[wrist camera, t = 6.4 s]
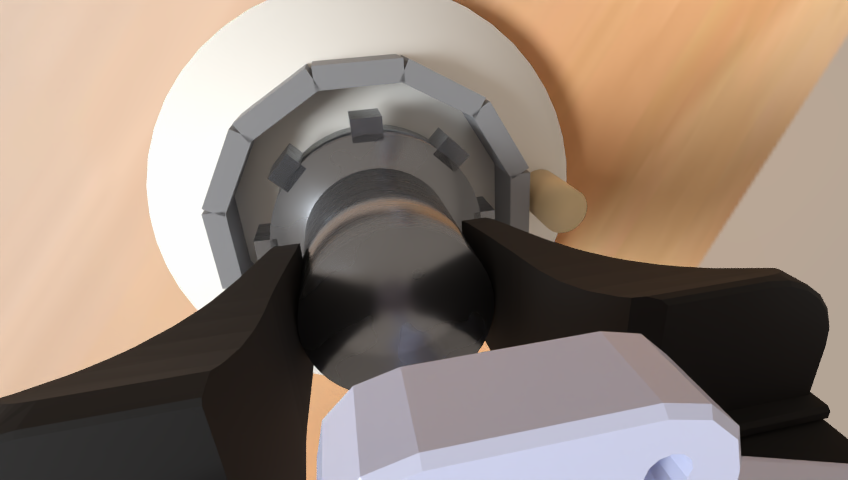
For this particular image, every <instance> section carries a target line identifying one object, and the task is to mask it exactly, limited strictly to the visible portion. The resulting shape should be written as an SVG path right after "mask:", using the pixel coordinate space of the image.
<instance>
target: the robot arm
mask: <svg viewBox="0 0 848 480" xmlns="http://www.w3.org/2000/svg"><path fill="white" fill-rule="evenodd" d="M462 233H463V235H464V237H465V238H466V240H467V241H468V243H469V244H470V246H471V248H472V249H473V251H474V252H475V254H476V255H477V257H478V259H479V260H480V262H481V263H482V265H483V267H484V268H485V270H486V272H487V274H488V276H489V279H490V281H491V284H492V289H493V293H494V315H493V320H492V324H491V327H490V330H489V333H488V335H487V337H486V339H485V341H486V343H487V345H488V346H489V348H490V350H491V351H487V352H481V353H475V354H470V355H464V356H459V357H453V358H447V359H442V360H436V361H431V362H425V363H419V364H414V365H408V366H403V367H399V368H396V369H394V370H391V371H389V372H386V373H384V374H381V375H379V376H376V377H374V378H372V379H369V380H367V381H364V382H362V383H359V384H357V385H354V386H352V388H351V389H350V390H349V391H348V392H347V393H346V394H345V395H344V396H343V398H342V399H341V400H340V401H339V402H338V403H337V404H336V405H335V406H334V407H333V409H332V410H331V411H330V412H329V413H328V414H327V415H326V416H325V417H324V418H323V420H322V426H321V433H320V440H319V447H318V454H317V480H848V439H847V438H846V437H844V436H843V435H842V434H841V433H839V432H838V431H837V430H836V429H835V428H833V427H832V426H831V425H829V424H828V423H827V422H826V421H825V420H823V419H825V418H828V416H829V413H830V410H829V408H828V405H827V404H825V403H824V402H823V401H821V400H820V399H819V398H817V397H816V396H815V395H813V394H812V393H811V392H810V390H811V387H812V384H813V381H814V378H815V375H816V372H817V369H818V366H819V363H820V360H821V358H822V355H823V352H824V349H825V346H826V341H827V336H828V332H829V319H828V310H827V307H826V305H825V303H824V301H823V299H822V297H821V295H820V294H819V293H817V292H816V291H815V290H813V289H812V288H811V287H810V286H808V285H807V284H805V283H803V282H801V281H799V280H797V279H796V278H794V277H792V276H790V275H788V274H787V273H785V272H783V271H781V270H779V269H776V268H696V267H679V266H668V265H657V264H649V263H642V262H635V261H628V260H622V259H617V258H611V257H607V256H603V255H598V254H594V253H589V252H585V251H582V250H578V249H574V248H571V247H568V246H565V245H562V244H559V243H555V242H552V241H550V240H547V239H544V238H541V237H539V236H536V235H533V234H531V233H528V232H525V231H523V230H520V229H518V228H515V227H513V226H510V225H508V224H505V223H503V222H500V221H497V220H494V219H491V218H486V217H485V218H478V219H470V220H463V221H462ZM302 262H303V257H302V252H301V247H300V243H298V244H291V245H284V246H276V247H273V248H271V249H270V250H269V251H268V252H267V253H265V254H264V255H263V256H262V257H261V258H260V259H259V260H258V261H257V262H256V263H255V264H254V265H253V266H252V267H251V268H249V269H248V270H247V271H246V272H245V273H244V274H243V275H242V276H241V277H240V278H239V279H238V280H236V281H235V282H234V283H233V284H232V285H230V286H229V287H228V288H227V289H225V290H224V291H223V292H222V293H221V294H219V295H218V296H217V297H216V298H214V299H213V300H212V301H211V302H209V303H208V304H207V305H205V306H204V307H202V308H201V309H200V310H198V311H197V312H195V313H194V314H192V315H191V316H189V317H187V318H186V319H184V320H183V321H181V322H180V323H178V324H176V325H175V326H173V327H171V328H169V329H168V330H166V331H164V332H162V333H160V334H158V335H156V336H154V337H153V338H151V339H149V340H147V341H145V342H143V343H141V344H139V345H138V346H136V347H134V348H132V349H130V350H127V351H125V352H123V353H121V354H119V355H116V356H114V357H112V358H110V359H107V360H105V361H103V362H100V363H98V364H95V365H93V366H91V367H88V368H86V369H83V370H81V371H78V372H75V373H73V374H70V375H68V376H65V377H62V378H59V379H56V380H53V381H50V382H47V383H44V384H41V385H39V386H36V387H33V388H30V389H27V390H24V391H21V392H18V393H15V394H12V395H9V396H6V397H2V398H0V480H306V435H307V422H308V413H309V404H310V395H311V386H312V377H313V367H314V365H313V364H312V362H311V361H310V359H309V358H308V356H307V355H306V353H305V351H304V349H303V347H302V344H301V341H300V337H299V333H298V325H297V317H298V303H299V293H300V282H301V273H302Z"/></svg>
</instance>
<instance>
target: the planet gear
mask: <svg viewBox="0 0 848 480" xmlns="http://www.w3.org/2000/svg"><path fill="white" fill-rule="evenodd" d="M348 117H349V125H350V127H349V128H345V129H342V130H339V131H336V132H334V133H332V134H330V135H328V136H325V137H324V138H322V139H320V140H319V141H317V142H316V143H314V144H313V145H311V146H310V147H309V148H308V149H307V150H306V151H304V152H301V151H300V150H298V149H297V148H296V147H294V146H293V145H292V144H290V143H289V144H288V146H287V147H286V148H285V150H284V151H283V152H282V153H281V155H280V156H279V157H278V159H277V160H276V161H275V163H274V164H273V165H272V167H271V170H270V173H269V176H268V178H267V179H269V180H270V181H272V182H273V183H275V184H276V185H277V186H279V187H280V189H279V192H278V195H277V198H276V202H275V205H274V209H273V213H272V218H271V223H267V224H259V226H258V229H257V232H256V235H255V238H254V241H253V242H254V247H255V251H256V255H257V259H258V260H259V259H260V258H261V257H262V256H263V255H264V254H265V253H267V252H268V251H269V250H270V249H271V248H273V247H276V246H284V245H291V244H298V243H300V247H301V252H302V257H303V262H302V273H301V282H300V293H299V303H298V317H297V325H298V333H299V337H300V341H301V344H302V347H303V349H304V351H305V353H306V355H307V356H308V358H309V359H310V361H311V362H312V364H313V365H314V366H315V367H316V368H317V369H318V370H319V371H320V372H321V373H322V374H323V375H324V376H325V377H327V378H328V379H329V380H331V381H332V382H334V383H336V384H337V385H339V386H341V387H344V388H346V389H348V390H350V389H351V388H352V386H354V385H357V384H359V383H362V382H364V381H367V380H369V379H372V378H374V377H376V376H379V375H381V374H384V373H386V372H389V371H391V370H394V369H396V368H399V367H403V366H408V365H414V364H419V363H425V362H431V361H436V360H442V359H447V358H453V357H459V356H464V355H470V354H475V353H477V352H478V351H479V349H480V348H481V346H482V345H483V343H484V341H485V339H486V337H487V335H488V333H489V330H490V327H491V324H492V320H493V315H494V293H493V289H492V284H491V281H490V279H489V276H488V274H487V272H486V270H485V268H484V267H483V265H482V263H481V262H480V260H479V259H478V257H477V255H476V254H475V252H474V251H473V249H472V248H471V246H470V244H469V243H468V241H467V240H466V238H465V237H464V235H463V233H462V221H463V220H470V219H478V218H485V217H486V218H491V219H494V220H495V210H494V209H493V208H492V206H491V205H490V204H489V203H488V202H487V201H486V200H485V198H484V197H483V196H480V197H476V196H475V193H474V190H473V188H472V186H471V185H470V183H469V181H468V179H467V178H466V176H465V175H464V174H463V172H462V171H461V170H460V168H459V167H460V166H461V165H462V164H463V163H464V162H465V160H466V159H467V158H468V157H469V156H470V155H469V154H468V153H467V152H466V151H465V150H463V149H462V148H461V147H460V146H459V145H458V144H457V143H456V142H455V141H454V140H452V139H451V138H450V137H449V136H448V135H447V134H446V133H444V132H443V131H442V130H441V129H440V128H439V127H438V128H437V130H436V131H435V132H434V133H433V134H432V136H431V137H430V138H429V139H427V138H426V137H424V136H422V135H420V134H418V133H416V132H413V131H410V130H408V129H405V128H401V127H397V126H392V125H383V121H382V115H381V114H380V112H379V110H378V108H374V109H364V110H354V111H348Z"/></svg>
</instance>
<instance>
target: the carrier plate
mask: <svg viewBox="0 0 848 480" xmlns="http://www.w3.org/2000/svg"><path fill="white" fill-rule="evenodd" d="M374 108H378V110H379V112H380V114H381V115H382V121H383V125H392V126H397V127H401V128H405V129H408V130H410V131H413V132H416V133H418V134H420V135H422V136H424V137H426V138H427V139H429V138H430V137H431V136H432V134H433V133H434V132H435V131H436V130H437V128H438V127H439V128H440V129H441V130H442V131H443V132H444V133H446V134H447V135H448V136H449V137H450V138H451V139H452V140H454V141H455V142H456V143H457V144H458V145H459V146H460V147H461V148H462V149H463V150H465V151H466V152H467V153H468V154H469V155H470V156H469V157H468V158H467V159H466V160H465V162H464V163H463V164H462V165H461V166H460V167H459V168H460V170H461V171H462V172H463V174H464V175H465V176H466V178H467V179H468V181H469V183H470V185H471V186H472V188H473V190H474V193H475V196H476V197H480V196H483V197H484V198H485V200H486V201H487V202H488V203H489V204H490V205H491V206H492V208H493V209H494V210H495V220H497V221H500V222H503V223H505V224H508V225H510V226H513V227H515V228H518V229H520V230H523V231H525V232H528V233H531V234H533V235H536V236H539V237H541V238H544V239H547V240H550V241H552V242H555V239H556V237H557V234H558V233H565V232H568V231H571V230H573V229H574V228H576V227H577V226H578V225H579V224H580V223H581V222H582V220H583V219H584V217H585V215H586V211H587V202H586V199H585V197H584V195H583V194H582V193H581V192H580V191H578V190H577V189H575V188H574V187H572V186H571V185H569V184H568V183H567V178H566V156H565V148H564V141H563V136H562V132H561V129H560V125H559V121H558V118H557V114H556V111H555V109H554V107H553V104H552V102H551V100H550V98H549V95H548V93H547V91H546V88H545V87H544V85H543V83H542V82H541V80H540V79H539V77H538V75H537V74H536V72H535V70H534V69H533V67H532V66H531V64H530V63H529V62H528V61H527V59H526V58H525V57H524V56H523V55H522V53H521V52H520V51H519V50H518V49H517V47H516V46H515V45H514V44H513V43H512V42H511V41H510V40H509V39H508V38H507V37H505V36H504V35H503V34H502V33H501V32H500V31H499V30H498V29H497V28H496V27H494V26H493V25H492V24H491V23H489V22H488V21H486V20H485V19H483V18H482V17H480V16H479V15H477V14H476V13H474V12H473V11H471V10H470V9H468V8H467V7H465V6H463V5H461V4H459V3H456V2H454V1H452V0H267V1H265V2H262V3H260V4H258V5H256V6H254V7H252V8H250V9H248V10H247V11H245V12H244V13H242V14H241V15H240V16H238V17H237V18H235V19H234V20H232V21H231V22H229V23H228V24H226V25H225V26H223V27H222V28H221V29H220V30H219V31H218V32H217V33H216V34H215V35H213V36H212V37H211V38H210V39H209V40H208V41H207V42H206V43H205V44H204V45H203V46H202V47H200V48H199V50H198V51H197V52H196V53H195V55H194V56H193V57H192V59H191V60H190V61H189V62H188V64H187V65H186V66H185V67H184V69H183V70H182V71H181V72H180V74H179V76H178V77H177V79H176V81H175V83H174V85H173V86H172V88H171V90H170V92H169V93H168V95H167V97H166V99H165V101H164V103H163V106H162V109H161V111H160V114H159V117H158V119H157V122H156V125H155V127H154V131H153V136H152V141H151V146H150V150H149V155H148V169H147V195H148V204H149V214H150V218H151V222H152V226H153V230H154V234H155V238H156V241H157V244H158V246H159V248H160V251H161V253H162V256H163V258H164V261H165V263H166V265H167V267H168V269H169V270H170V272H171V274H172V276H173V277H174V279H175V281H176V282H177V284H178V286H179V287H180V289H181V290H182V291H183V293H184V294H185V295H186V297H187V298H188V299H189V300H190V302H191V303H192V304H193V305H194V307H195V308H196V309H197V310H200V309H201V308H202V307H204V306H205V305H207V304H208V303H209V302H211V301H212V300H213V299H214V298H216V297H217V296H218V295H219V294H221V293H222V292H223V291H224V290H225V289H227V288H228V287H229V286H230V285H232V284H233V283H234V282H235V281H236V280H238V279H239V278H240V277H241V276H242V275H243V274H244V273H245V272H246V271H247V270H248V269H249V268H251V267H252V266H253V265H254V264H255V263H256V262H257V261H258V259H257V255H256V251H255V247H254V242H253V241H254V238H255V235H256V232H257V229H258V226H259V224H267V223H271V218H272V213H273V209H274V205H275V202H276V198H277V195H278V192H279V189H280V187H279V186H277V185H276V184H275V183H273V182H272V181H270V180H269V179H267V178H268V176H269V173H270V170H271V167H272V165H273V164H274V163H275V161H276V160H277V159H278V157H279V156H280V155H281V153H282V152H283V151H284V150H285V148H286V147H287V146H288V144H289V143H290V144H292V145H293V146H294V147H296V148H297V149H298V150H300V151H301V152H304V151H306V150H307V149H308V148H309V147H310V146H311V145H313V144H314V143H316V142H317V141H319V140H320V139H322V138H324V137H325V136H328V135H330V134H332V133H334V132H336V131H339V130H342V129H345V128H349V127H350V125H349V117H348V111H354V110H364V109H374ZM313 373H315V374H320V375H323V374H322V373H321V372H320V371H319V370H318V369H317V368H316V367H315V366H314V367H313Z"/></svg>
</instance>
